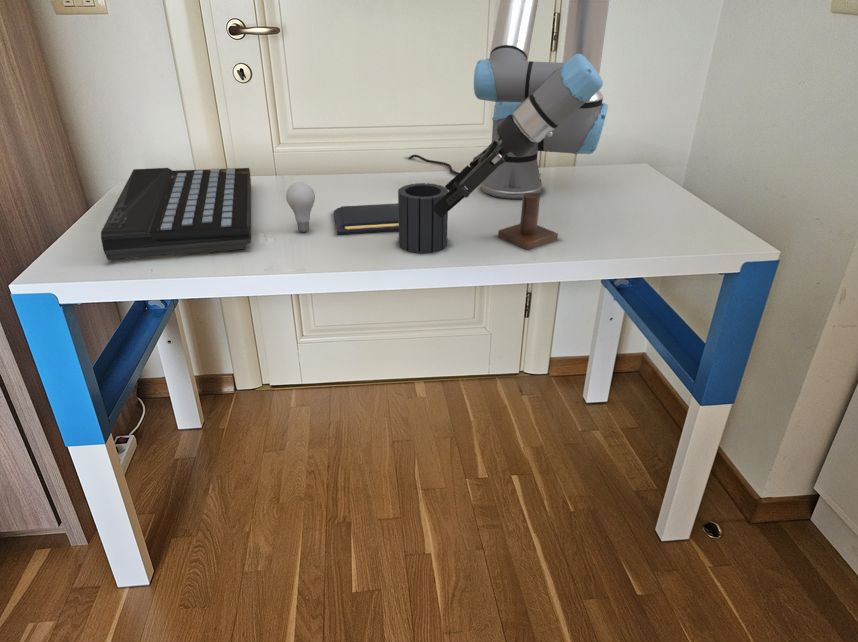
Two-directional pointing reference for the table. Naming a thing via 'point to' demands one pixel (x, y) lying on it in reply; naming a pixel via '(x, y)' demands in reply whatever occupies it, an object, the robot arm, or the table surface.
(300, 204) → the lightbulb
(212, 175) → the computer keyboard
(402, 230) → the ribbed pencil cup
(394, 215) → the wallet
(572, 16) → the robot arm
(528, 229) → the peg
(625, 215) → the table surface
